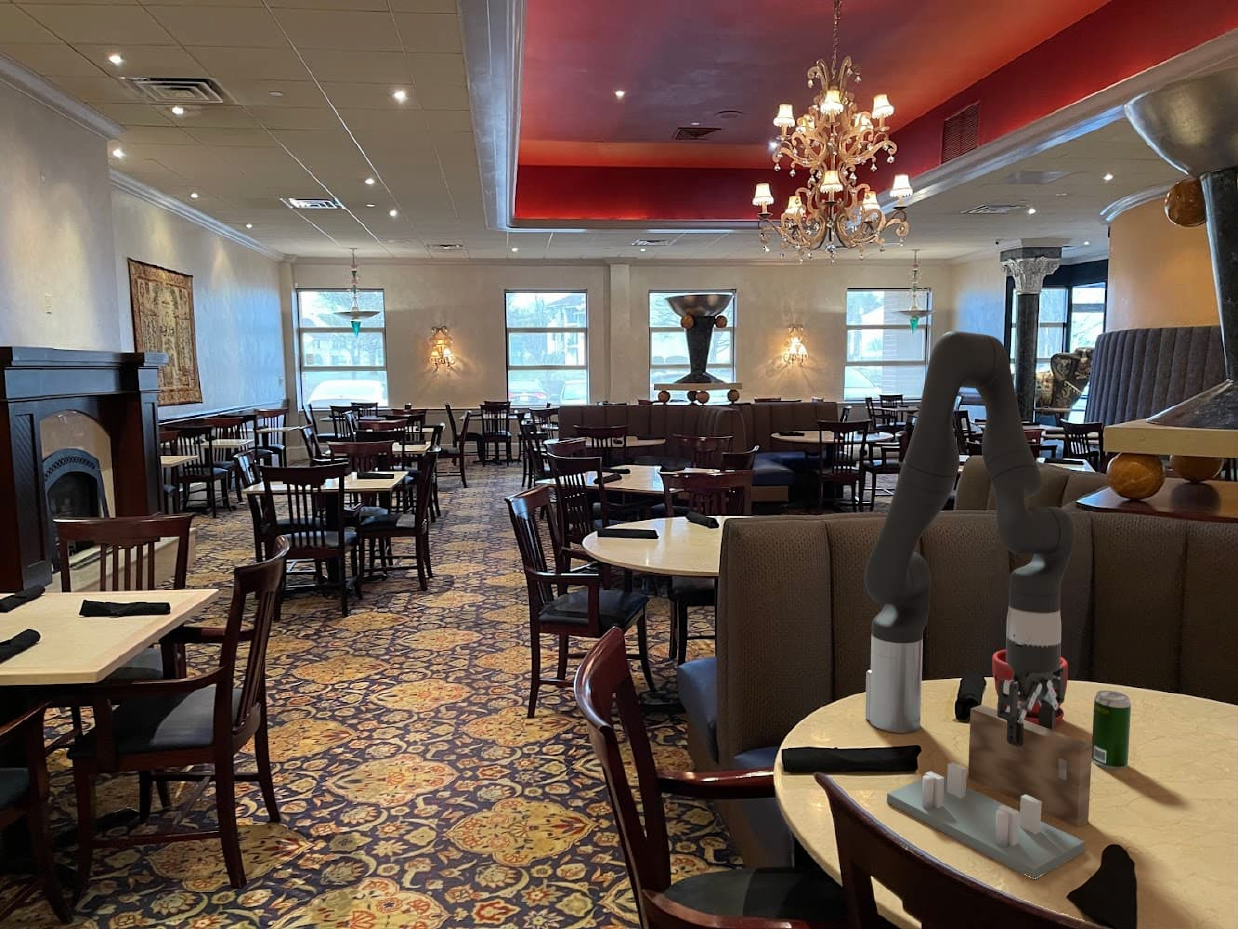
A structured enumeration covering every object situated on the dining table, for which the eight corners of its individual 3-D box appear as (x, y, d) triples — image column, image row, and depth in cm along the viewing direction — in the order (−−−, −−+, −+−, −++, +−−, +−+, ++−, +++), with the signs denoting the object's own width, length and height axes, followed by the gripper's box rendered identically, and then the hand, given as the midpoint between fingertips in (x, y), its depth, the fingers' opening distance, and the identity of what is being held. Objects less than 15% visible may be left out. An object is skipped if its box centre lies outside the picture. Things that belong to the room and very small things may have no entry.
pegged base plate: (886, 802, 129) (887, 765, 128) (936, 782, 135) (937, 746, 134) (1034, 880, 108) (1036, 836, 108) (1084, 851, 115) (1086, 810, 114)
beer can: (1117, 774, 137) (1121, 704, 136) (1084, 762, 142) (1088, 694, 140) (1133, 765, 140) (1137, 697, 139) (1100, 754, 145) (1104, 687, 143)
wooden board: (967, 778, 136) (970, 708, 135) (979, 773, 138) (982, 704, 137) (1076, 828, 121) (1080, 749, 120) (1088, 821, 123) (1092, 744, 122)
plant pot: (1058, 708, 165) (1061, 650, 163) (1071, 735, 152) (1074, 672, 151) (987, 700, 169) (989, 643, 168) (993, 726, 157) (996, 664, 155)
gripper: (1036, 623, 134) (1033, 719, 135) (983, 638, 126) (981, 741, 128) (1082, 633, 128) (1079, 735, 129) (1030, 651, 120) (1027, 758, 121)
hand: (1030, 738), depth 128 cm, fingers open, 8 cm apart
